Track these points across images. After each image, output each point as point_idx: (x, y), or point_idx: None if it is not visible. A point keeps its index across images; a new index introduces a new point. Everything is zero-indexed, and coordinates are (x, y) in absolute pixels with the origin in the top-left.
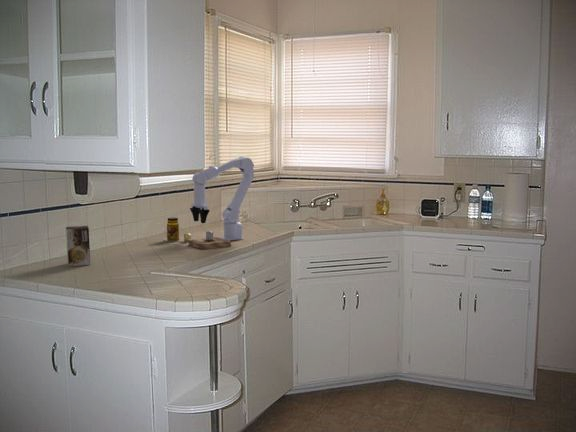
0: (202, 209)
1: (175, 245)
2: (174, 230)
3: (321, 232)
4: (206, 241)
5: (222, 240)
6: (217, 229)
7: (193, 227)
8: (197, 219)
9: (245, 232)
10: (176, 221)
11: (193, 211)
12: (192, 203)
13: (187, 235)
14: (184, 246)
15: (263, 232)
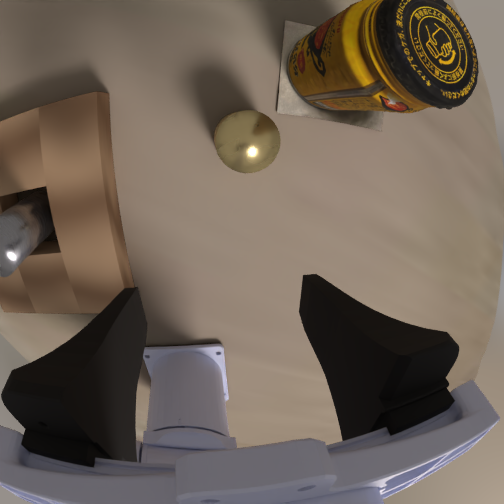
0: (68, 440)
1: (147, 11)
2: (317, 40)
3: None
4: (23, 199)
5: (23, 290)
6: None
7: (485, 319)
8: (305, 316)
9: (302, 431)
10: (371, 52)
11: (363, 349)
12: (471, 439)
13: (219, 127)
14: (82, 55)
15: None
